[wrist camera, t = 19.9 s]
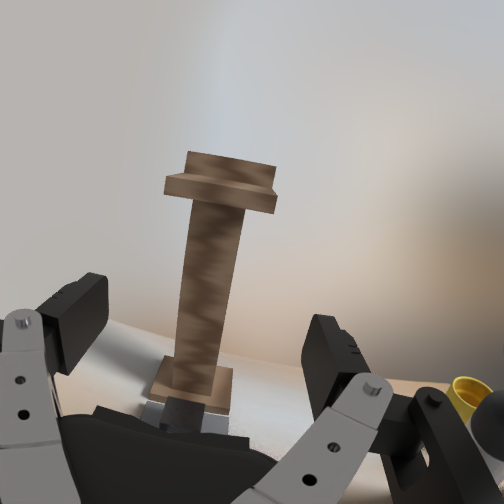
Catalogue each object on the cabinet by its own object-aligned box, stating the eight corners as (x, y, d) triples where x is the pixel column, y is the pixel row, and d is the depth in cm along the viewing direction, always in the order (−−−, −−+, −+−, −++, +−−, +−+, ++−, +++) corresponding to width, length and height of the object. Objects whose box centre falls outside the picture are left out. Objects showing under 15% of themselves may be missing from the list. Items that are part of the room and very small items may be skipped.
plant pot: (427, 408, 46) (451, 369, 43) (468, 421, 42) (493, 383, 39) (424, 443, 37) (453, 401, 35) (469, 455, 33) (501, 416, 30)
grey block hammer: (202, 422, 37) (205, 403, 36) (185, 519, 22) (187, 507, 21) (167, 414, 37) (168, 395, 36) (139, 508, 22) (136, 495, 20)
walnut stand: (231, 374, 51) (275, 166, 41) (228, 415, 41) (283, 168, 31) (164, 361, 50) (189, 151, 40) (149, 399, 40) (170, 148, 30)
